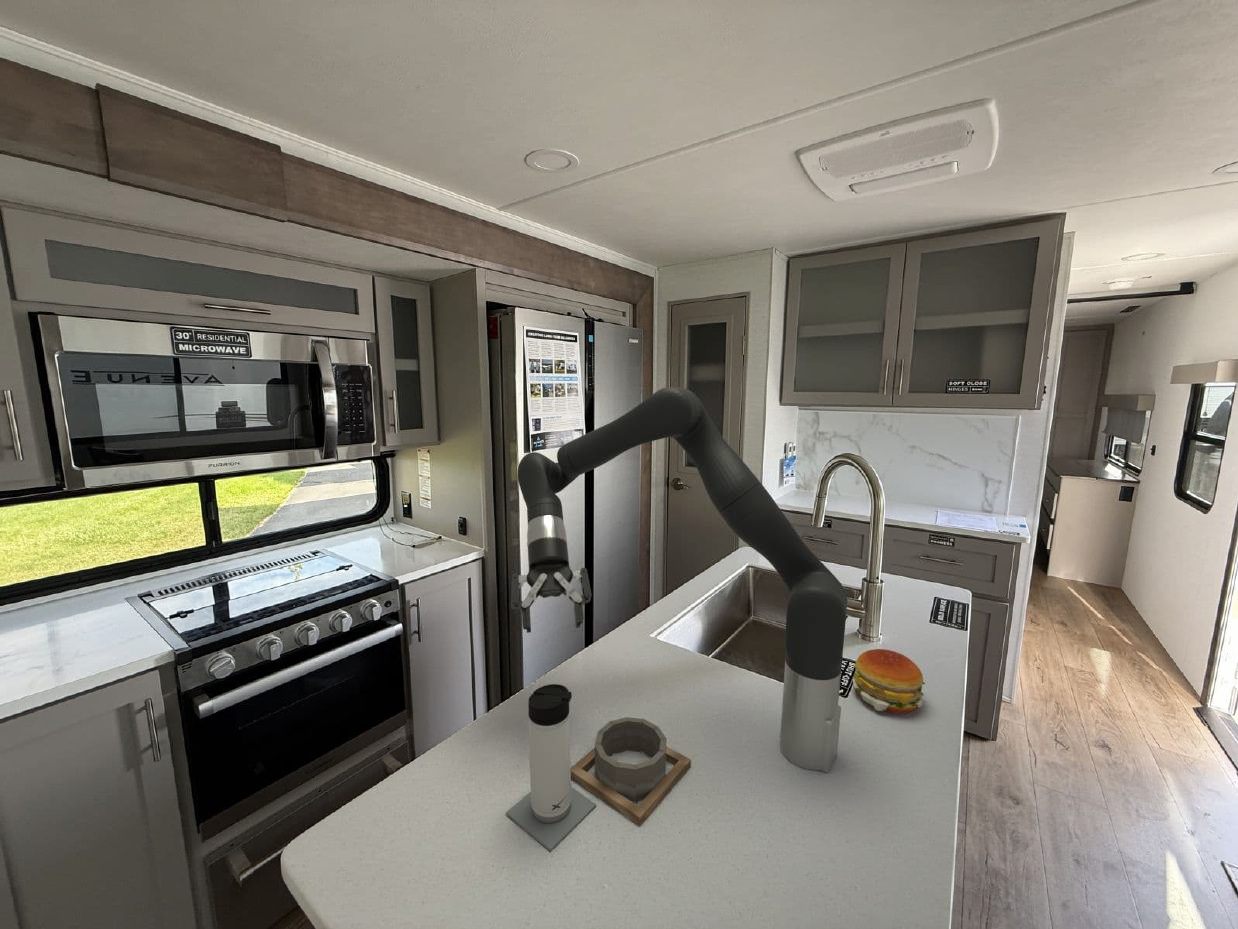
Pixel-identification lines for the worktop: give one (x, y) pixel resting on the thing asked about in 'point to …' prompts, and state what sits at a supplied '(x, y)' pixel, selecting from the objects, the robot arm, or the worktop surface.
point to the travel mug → (550, 752)
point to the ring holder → (631, 767)
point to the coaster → (554, 831)
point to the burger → (888, 681)
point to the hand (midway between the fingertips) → (553, 628)
